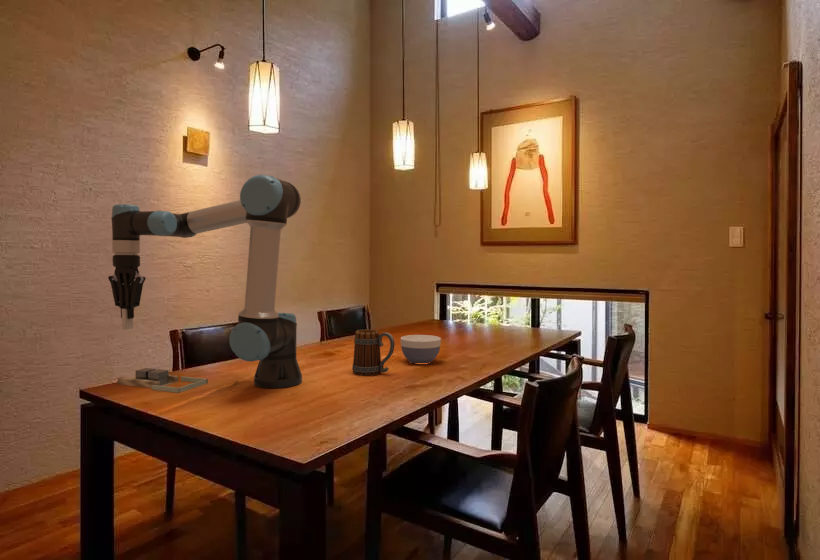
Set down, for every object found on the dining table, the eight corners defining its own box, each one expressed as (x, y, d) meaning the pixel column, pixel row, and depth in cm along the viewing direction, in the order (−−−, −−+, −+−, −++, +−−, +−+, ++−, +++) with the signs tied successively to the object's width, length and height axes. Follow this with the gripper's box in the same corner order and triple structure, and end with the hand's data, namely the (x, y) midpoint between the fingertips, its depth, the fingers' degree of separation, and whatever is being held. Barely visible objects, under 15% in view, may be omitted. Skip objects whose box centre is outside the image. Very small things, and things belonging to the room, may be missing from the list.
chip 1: (156, 381, 157) (155, 368, 157) (145, 384, 154) (145, 371, 153) (146, 380, 159) (146, 367, 158) (135, 383, 155) (135, 370, 155)
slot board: (178, 386, 158) (178, 375, 158) (155, 393, 149) (155, 382, 149) (141, 381, 163) (141, 371, 162) (117, 388, 154) (117, 378, 154)
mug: (346, 374, 175) (346, 332, 174) (360, 368, 185) (361, 328, 184) (387, 378, 169) (387, 335, 168) (399, 372, 179) (399, 330, 178)
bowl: (398, 358, 204) (398, 334, 203) (437, 357, 205) (437, 334, 205) (402, 366, 188) (402, 341, 187) (444, 366, 190) (444, 341, 189)
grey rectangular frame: (207, 387, 156) (207, 378, 156) (178, 397, 145) (178, 388, 144) (182, 384, 159) (182, 376, 159) (151, 394, 148) (151, 385, 148)
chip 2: (168, 382, 156) (168, 370, 156) (158, 385, 152) (158, 372, 152) (158, 381, 157) (158, 369, 157) (148, 384, 153) (148, 371, 153)
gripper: (152, 254, 158) (153, 328, 159) (120, 254, 162) (122, 326, 163) (132, 254, 151) (133, 331, 152) (100, 254, 155) (101, 329, 156)
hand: (127, 328), depth 158 cm, fingers closed
